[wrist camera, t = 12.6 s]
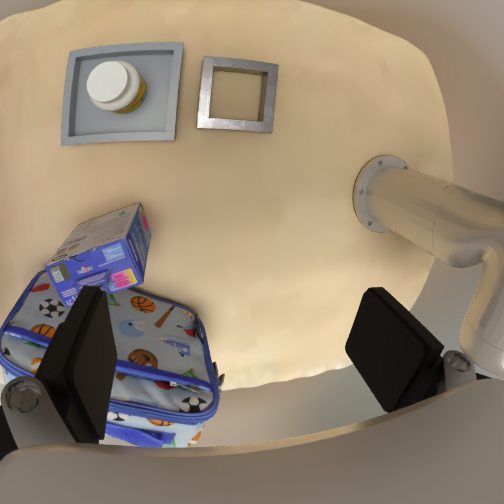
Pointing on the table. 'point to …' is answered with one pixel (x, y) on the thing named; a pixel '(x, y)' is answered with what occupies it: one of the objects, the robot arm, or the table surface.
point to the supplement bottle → (116, 87)
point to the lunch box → (128, 362)
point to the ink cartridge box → (102, 254)
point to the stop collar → (239, 66)
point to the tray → (134, 123)
